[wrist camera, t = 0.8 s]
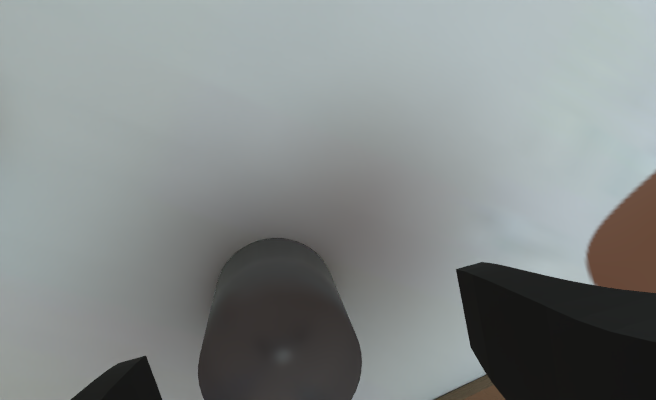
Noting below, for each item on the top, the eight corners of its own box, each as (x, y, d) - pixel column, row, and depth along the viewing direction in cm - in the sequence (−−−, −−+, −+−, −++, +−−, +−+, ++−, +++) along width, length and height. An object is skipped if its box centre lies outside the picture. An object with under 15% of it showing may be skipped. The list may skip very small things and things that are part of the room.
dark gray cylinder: (246, 367, 21) (241, 467, 15) (194, 268, 20) (168, 336, 14) (350, 319, 21) (384, 399, 16) (305, 218, 20) (324, 264, 14)
